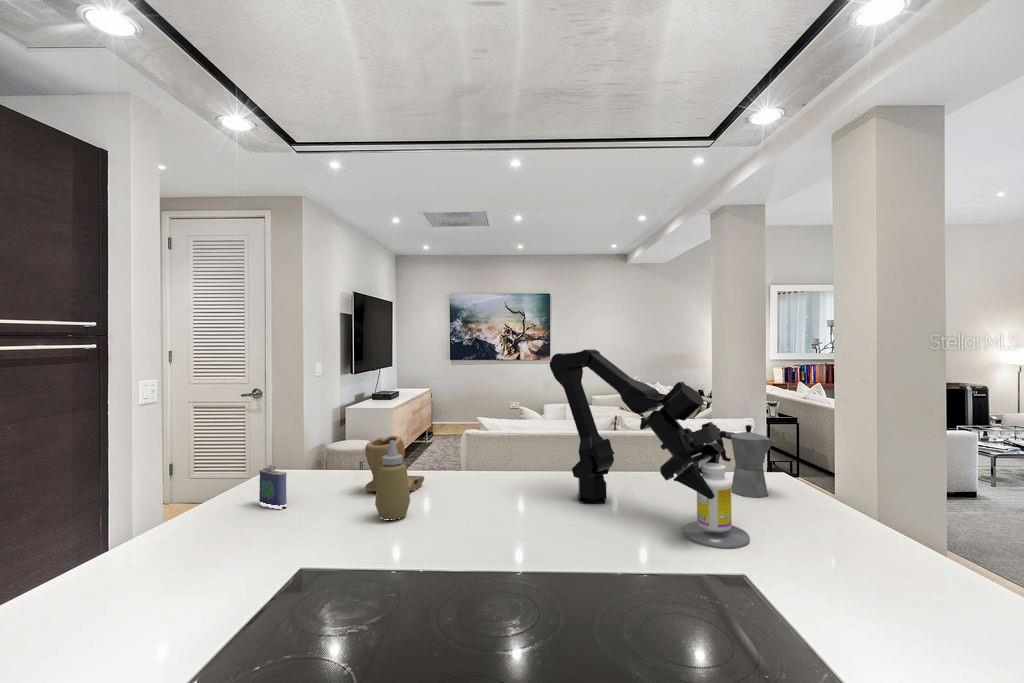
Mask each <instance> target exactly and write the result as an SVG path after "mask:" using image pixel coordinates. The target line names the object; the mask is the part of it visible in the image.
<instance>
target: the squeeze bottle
mask: <svg viewBox="0 0 1024 683" xmlns="http://www.w3.org/2000/svg"><path fill="white" fill-rule="evenodd" d="M382 464H383V465H381V466H380V467H379V468H378V478H377V489H376V492H375V504H374V505H375V507H376V510H377V513H378V516H379V518H380V517H381V518H383V519H389V520H391V519H392V520H393V519H399V518H402V517H404V516H405V515H406V516H407V512H408V510H409V506H410V502H411V497H410V496H411V494H410V491H409V485H408V476H409V475H408V471H407V469H408V467H407V465H406V464H405V463H402V455H400V454H398V452H397V448H396V444H395V440H390V442H389V447H388V452H387V455H385V456H383V457H382ZM406 516H405V517H406ZM405 517H404V518H405ZM381 518H380V519H381ZM402 519H403V518H402ZM399 520H400V519H399Z"/></svg>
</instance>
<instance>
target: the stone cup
mask: <svg viewBox="0 0 1024 683" xmlns="http://www.w3.org/2000/svg"><path fill="white" fill-rule="evenodd" d="M390 440H395V444H396V448H397V452H398V454H400V455H402V463H403V464H405V463H404V462H405V456H406V452H405V451H406V449H405V443H404V441H403V439H402V437H400V436H398V435H388V436H387V437H376V438H375V439H372V440H370V441H369V442H367V443H366V445H365V449H364V450H365V457H366V462H367V465H368V466H369V469H370V471H371V474H372V480H371V481H369V482H368V483H367V484H365V487H364V488H365V490H366V491H367V492H374V491H375V492H374V493H376V489H377V478H378V468H379V467H380V466H381V465H383V464H382V457H383V456H385V455H387V452H388V447H389V442H390ZM407 476H408V485H409V492H412V491H413V490H414V489H416V488H417V489H419V487H421V486H422V484H423V482H424V481H425V476H423V475H407ZM417 489H416V490H417ZM414 491H415V490H414Z"/></svg>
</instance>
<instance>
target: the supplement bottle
mask: <svg viewBox="0 0 1024 683" xmlns="http://www.w3.org/2000/svg"><path fill="white" fill-rule="evenodd" d="M726 468H727V467H726V466H725V465H724V464H721V463H719V464H717V463H704V464H702V465H701V470H702V472H703V475H702V474H701V476H702V477H703V478H704V480H705V481H706V483H707V484H708V486H709V487H710V489H711V491H712V492H713V494H714V496H715V497H714V498H712V499H709V498H707V497H705V496H704V495H702V494H700V493H698V492H697V491H696V517H697V518H696V521H697V522H698V524H699V526H700V527H702V528H704V529H706V530H710V531H715V532H724V531H728V530H730V529H731V525H733V524H732V521H733V520H732V489H731V487H732V482H731V481H730V480H729V478H728V477H725V476H726V475H725V474H726V471H727V470H726Z"/></svg>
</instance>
